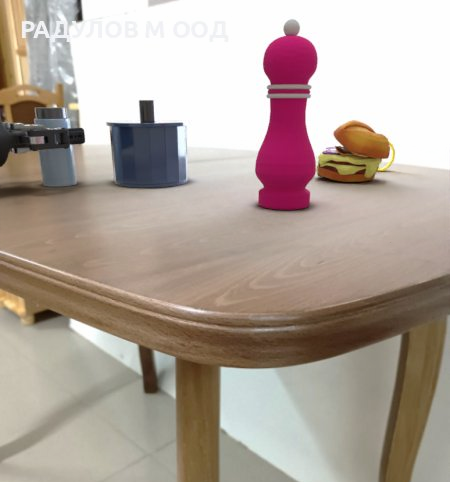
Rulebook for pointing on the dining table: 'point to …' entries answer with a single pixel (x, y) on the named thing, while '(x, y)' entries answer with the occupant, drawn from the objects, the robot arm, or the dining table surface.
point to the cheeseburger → (353, 154)
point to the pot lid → (147, 118)
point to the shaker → (56, 150)
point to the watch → (390, 160)
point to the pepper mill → (287, 123)
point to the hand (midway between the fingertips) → (64, 134)
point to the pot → (149, 156)
